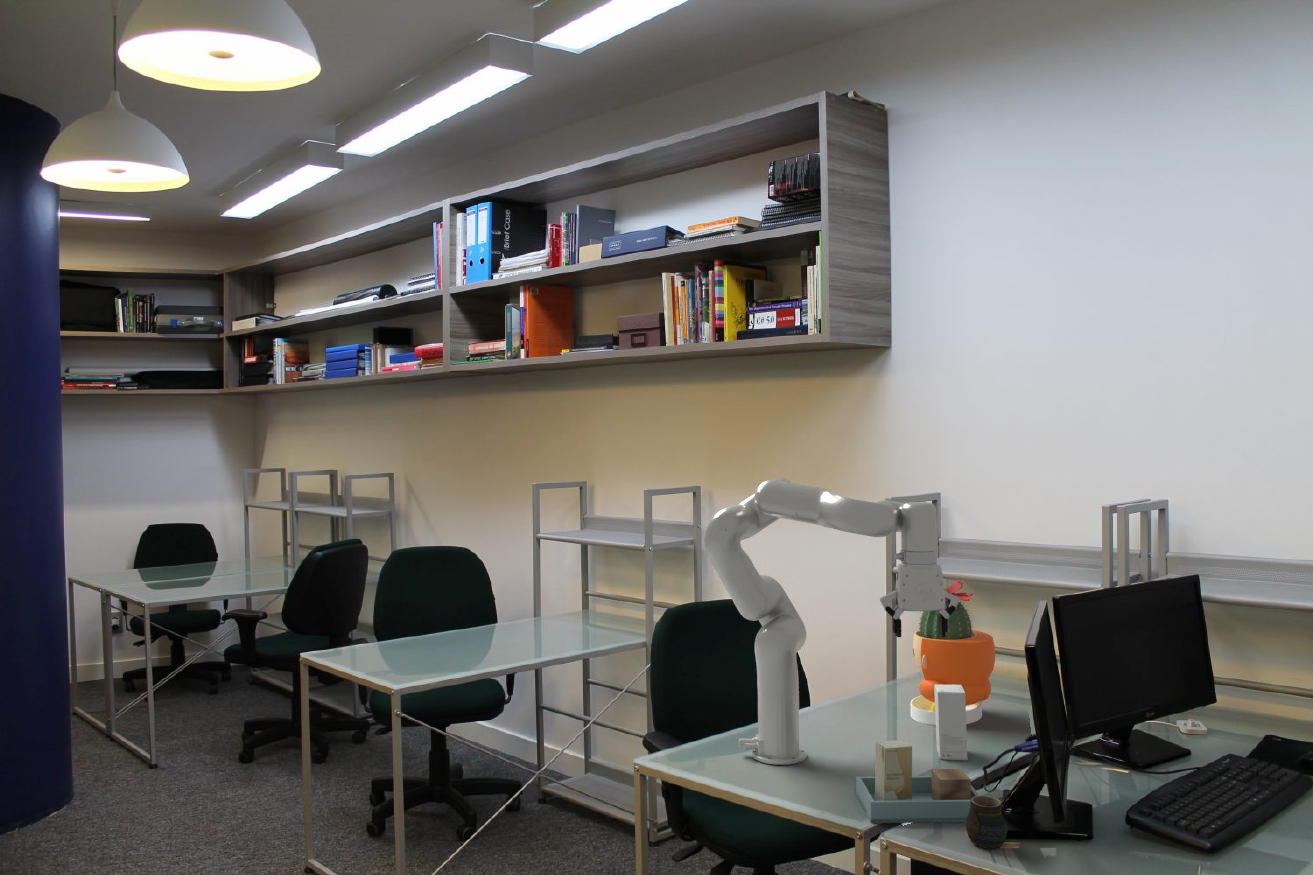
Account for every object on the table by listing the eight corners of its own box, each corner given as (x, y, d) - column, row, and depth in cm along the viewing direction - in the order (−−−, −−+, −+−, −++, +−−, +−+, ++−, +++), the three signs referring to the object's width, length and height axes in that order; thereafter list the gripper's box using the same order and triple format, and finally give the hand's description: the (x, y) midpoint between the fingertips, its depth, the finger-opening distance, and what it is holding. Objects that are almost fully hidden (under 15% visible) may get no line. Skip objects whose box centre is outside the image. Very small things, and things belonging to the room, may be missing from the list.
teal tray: (871, 823, 187) (870, 802, 187) (856, 795, 201) (856, 776, 201) (985, 821, 187) (985, 801, 187) (962, 794, 201) (962, 775, 201)
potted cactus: (895, 716, 256) (893, 584, 256) (941, 700, 271) (939, 575, 271) (969, 734, 240) (968, 593, 240) (1014, 716, 255) (1012, 583, 255)
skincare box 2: (967, 761, 221) (966, 693, 221) (937, 759, 222) (936, 692, 222) (963, 749, 229) (962, 683, 229) (934, 748, 230) (933, 682, 230)
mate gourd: (1000, 835, 180) (1000, 782, 180) (1013, 853, 173) (1013, 797, 173) (961, 835, 181) (961, 782, 181) (973, 852, 173) (972, 797, 173)
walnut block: (940, 809, 191) (940, 779, 191) (931, 798, 197) (931, 768, 197) (970, 809, 191) (970, 779, 191) (961, 798, 197) (961, 768, 197)
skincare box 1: (884, 810, 191) (883, 748, 191) (874, 802, 195) (873, 741, 195) (914, 806, 193) (913, 745, 193) (903, 798, 197) (902, 738, 197)
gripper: (883, 561, 210) (884, 640, 210) (963, 560, 210) (964, 639, 210) (876, 556, 217) (876, 632, 217) (953, 555, 217) (954, 631, 217)
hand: (920, 635), depth 214 cm, fingers open, 9 cm apart
